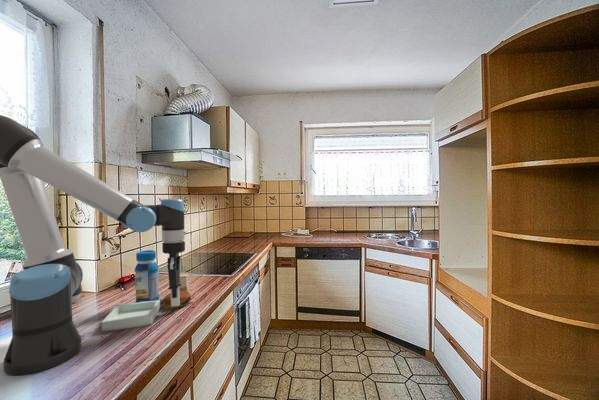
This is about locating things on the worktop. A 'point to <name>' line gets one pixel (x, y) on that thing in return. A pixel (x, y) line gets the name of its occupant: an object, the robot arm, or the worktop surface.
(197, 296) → the worktop surface
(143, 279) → the blue supplement bottle
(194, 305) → the worktop surface
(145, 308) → the tray
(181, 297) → the burger
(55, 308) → the robot arm
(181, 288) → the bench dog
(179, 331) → the worktop surface
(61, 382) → the worktop surface
